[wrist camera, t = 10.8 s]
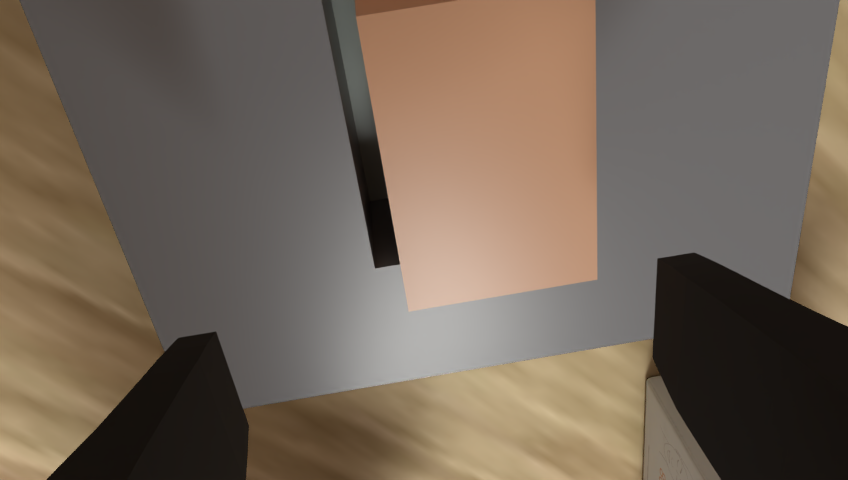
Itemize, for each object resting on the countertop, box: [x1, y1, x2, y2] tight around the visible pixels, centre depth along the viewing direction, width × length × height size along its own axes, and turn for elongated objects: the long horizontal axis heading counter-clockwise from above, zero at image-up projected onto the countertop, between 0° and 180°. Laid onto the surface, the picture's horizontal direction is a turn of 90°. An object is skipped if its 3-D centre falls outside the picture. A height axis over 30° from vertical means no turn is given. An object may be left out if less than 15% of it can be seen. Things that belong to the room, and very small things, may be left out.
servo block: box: [355, 0, 597, 312], centre depth 16 cm, size 9×4×7 cm, turn 8°
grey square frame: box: [20, 0, 840, 409], centre depth 17 cm, size 15×17×4 cm
